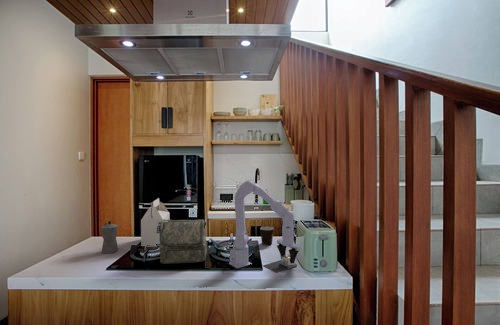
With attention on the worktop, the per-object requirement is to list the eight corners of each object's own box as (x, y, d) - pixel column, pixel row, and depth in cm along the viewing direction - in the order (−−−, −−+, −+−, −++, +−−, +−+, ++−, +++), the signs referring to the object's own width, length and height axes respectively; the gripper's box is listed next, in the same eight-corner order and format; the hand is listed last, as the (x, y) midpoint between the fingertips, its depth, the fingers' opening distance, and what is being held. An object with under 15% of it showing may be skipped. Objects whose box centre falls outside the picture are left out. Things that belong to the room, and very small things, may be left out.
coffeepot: (122, 252, 165) (121, 221, 164) (104, 256, 158) (104, 224, 158) (113, 246, 176) (112, 217, 176) (96, 249, 169) (96, 220, 169)
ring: (287, 266, 140) (287, 259, 140) (280, 263, 144) (280, 256, 144) (295, 263, 143) (295, 256, 143) (288, 260, 148) (288, 253, 147)
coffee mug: (268, 246, 175) (268, 230, 174) (257, 244, 180) (257, 228, 179) (278, 242, 184) (278, 227, 184) (267, 239, 189) (267, 225, 189)
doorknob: (287, 269, 139) (287, 260, 139) (278, 265, 144) (278, 256, 144) (296, 266, 143) (297, 257, 143) (287, 262, 148) (287, 253, 148)
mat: (276, 273, 135) (276, 273, 135) (262, 266, 144) (262, 265, 144) (296, 266, 143) (296, 266, 143) (281, 260, 152) (281, 259, 152)
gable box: (150, 237, 194) (149, 197, 194) (169, 237, 196) (169, 197, 195) (141, 248, 172) (140, 202, 172) (163, 247, 174) (162, 202, 173)
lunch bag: (154, 265, 145) (154, 223, 144) (163, 253, 163) (162, 216, 162) (205, 264, 147) (205, 222, 146) (208, 252, 165) (208, 215, 164)
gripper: (304, 236, 140) (303, 263, 140) (283, 230, 151) (283, 255, 152) (294, 238, 136) (294, 266, 136) (273, 232, 147) (273, 257, 147)
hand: (287, 260), depth 144 cm, fingers open, 6 cm apart
